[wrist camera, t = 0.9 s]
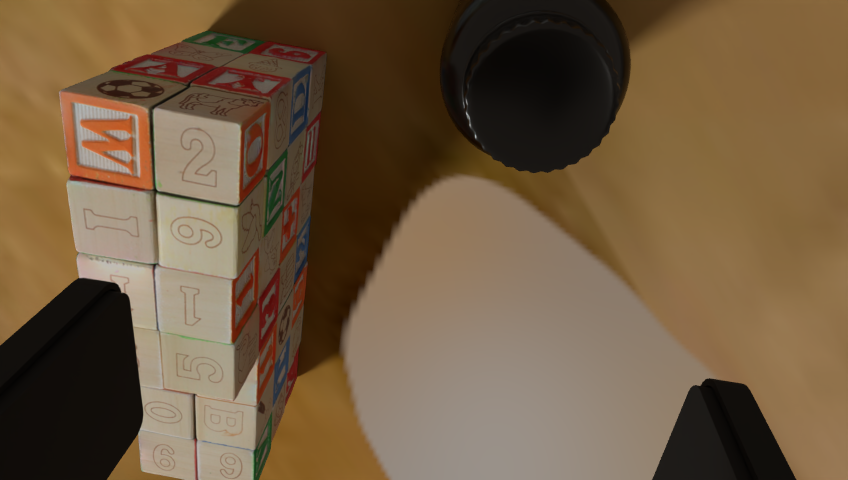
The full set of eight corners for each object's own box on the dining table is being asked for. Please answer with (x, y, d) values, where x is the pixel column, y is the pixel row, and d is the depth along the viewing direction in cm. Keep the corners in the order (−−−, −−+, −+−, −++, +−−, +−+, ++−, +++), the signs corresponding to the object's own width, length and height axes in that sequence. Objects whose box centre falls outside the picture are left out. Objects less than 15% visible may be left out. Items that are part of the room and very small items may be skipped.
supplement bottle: (597, 99, 31) (650, 199, 21) (458, 112, 32) (441, 214, 22) (597, -54, 28) (659, -29, 17) (443, -34, 29) (415, 1, 18)
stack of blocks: (300, 378, 42) (232, 546, 31) (206, 361, 42) (105, 521, 31) (328, 48, 31) (241, 123, 21) (204, 25, 31) (51, 88, 21)
